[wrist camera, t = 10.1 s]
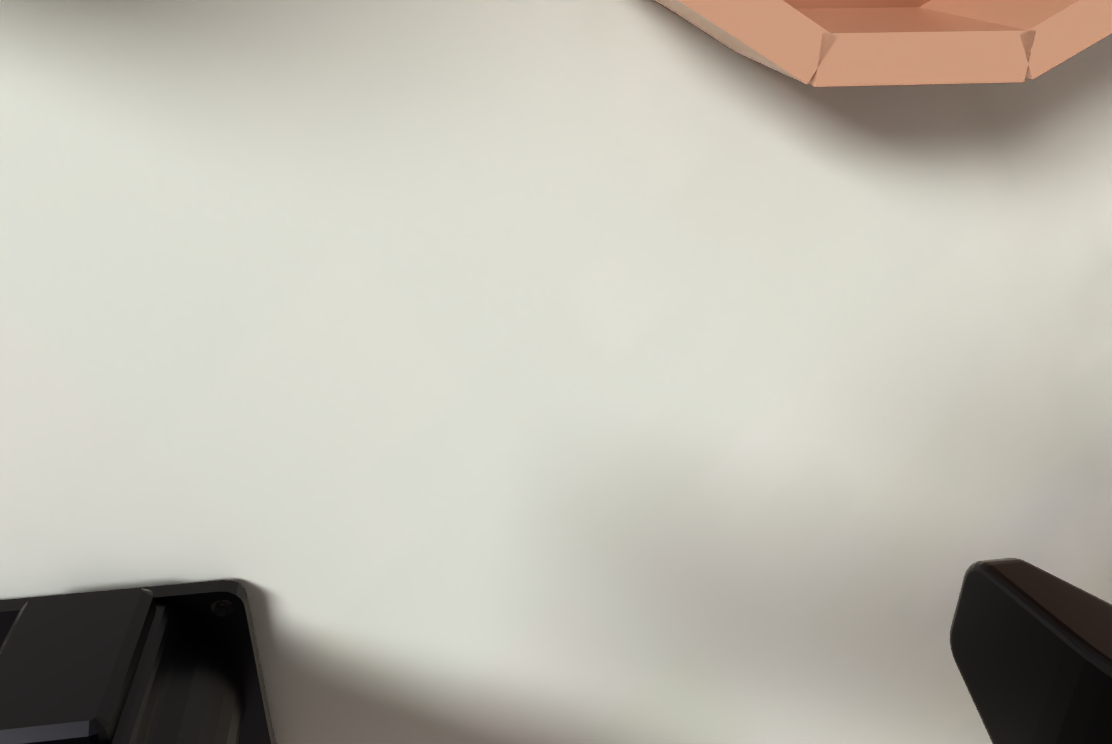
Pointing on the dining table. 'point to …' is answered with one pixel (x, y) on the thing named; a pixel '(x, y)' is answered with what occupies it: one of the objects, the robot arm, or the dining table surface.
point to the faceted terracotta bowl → (902, 37)
